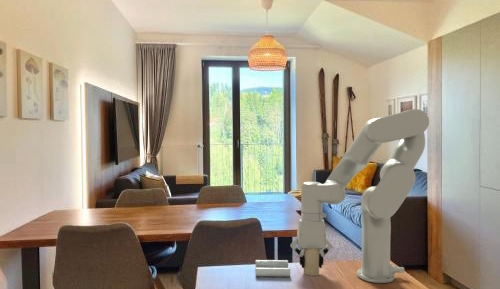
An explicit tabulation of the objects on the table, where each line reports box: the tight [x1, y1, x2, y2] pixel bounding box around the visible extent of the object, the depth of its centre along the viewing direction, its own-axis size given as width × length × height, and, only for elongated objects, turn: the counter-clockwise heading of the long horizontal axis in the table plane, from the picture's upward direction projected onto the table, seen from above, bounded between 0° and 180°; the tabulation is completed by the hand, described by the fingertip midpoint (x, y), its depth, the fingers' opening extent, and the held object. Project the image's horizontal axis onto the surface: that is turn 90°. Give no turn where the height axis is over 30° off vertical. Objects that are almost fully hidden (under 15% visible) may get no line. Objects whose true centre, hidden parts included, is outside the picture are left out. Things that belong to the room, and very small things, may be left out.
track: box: [255, 259, 291, 279], centre depth 136 cm, size 12×9×3 cm
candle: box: [303, 249, 320, 277], centre depth 136 cm, size 6×6×10 cm
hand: (311, 266), depth 136 cm, fingers closed on candle, 5 cm apart
